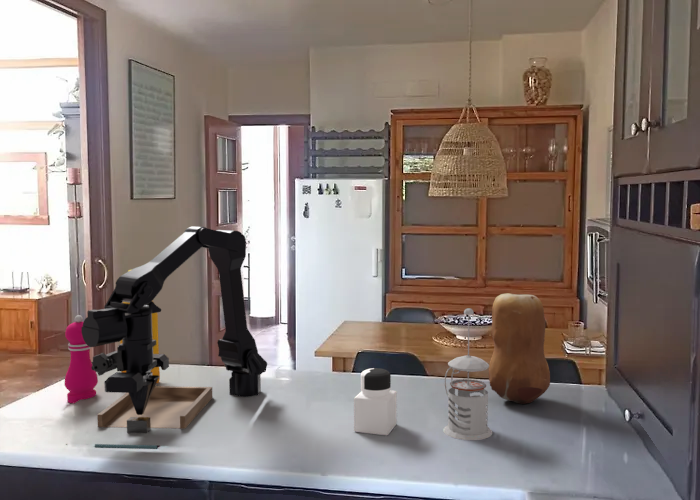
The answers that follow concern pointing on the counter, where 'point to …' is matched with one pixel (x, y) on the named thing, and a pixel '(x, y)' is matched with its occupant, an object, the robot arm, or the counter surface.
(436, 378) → the counter surface
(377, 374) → the medicine bottle
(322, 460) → the counter surface
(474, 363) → the french press
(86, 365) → the pepper mill
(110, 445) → the cover plate
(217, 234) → the robot arm
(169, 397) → the walnut box
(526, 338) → the butternut squash
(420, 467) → the counter surface
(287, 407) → the counter surface
